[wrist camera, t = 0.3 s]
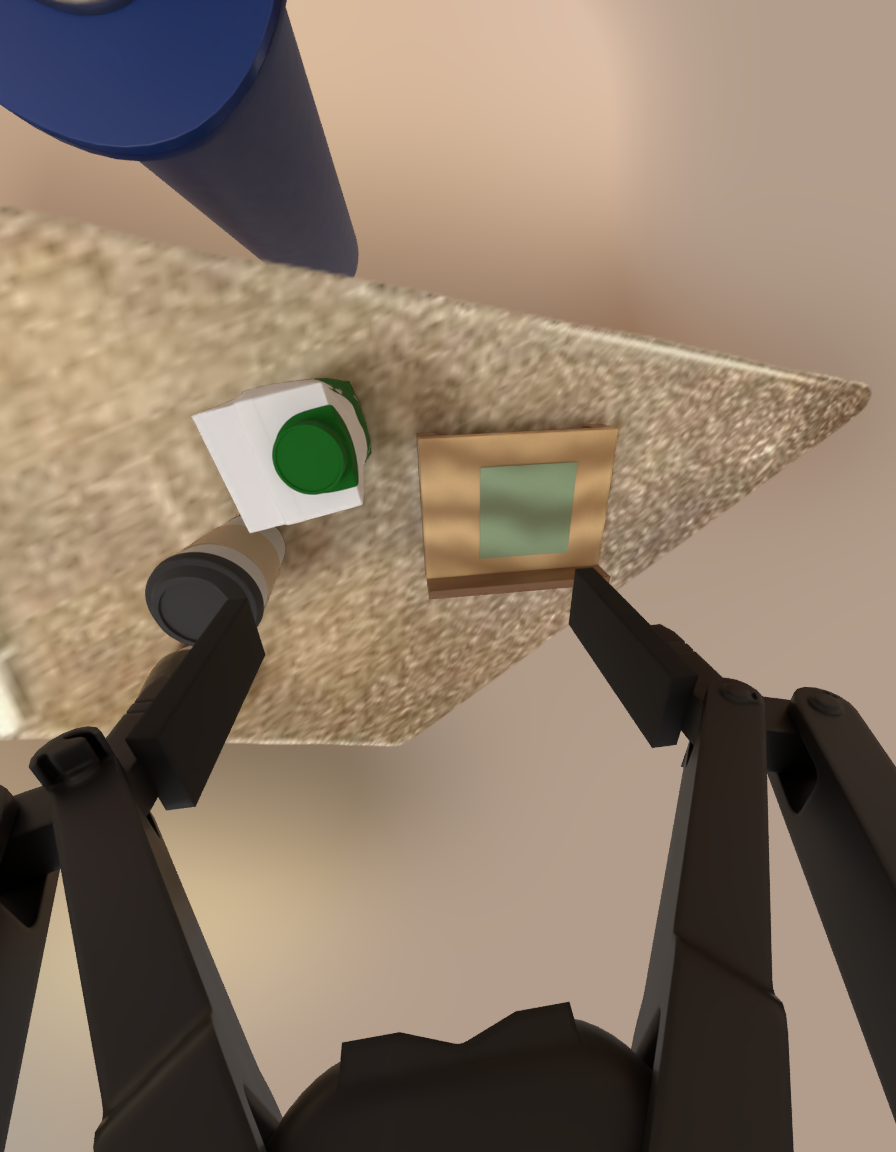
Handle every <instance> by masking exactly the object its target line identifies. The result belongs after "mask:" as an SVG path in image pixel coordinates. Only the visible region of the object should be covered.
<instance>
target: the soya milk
mask: <svg viewBox="0 0 896 1152" xmlns="http://www.w3.org/2000/svg"><path fill="white" fill-rule="evenodd" d="M192 418H193V420H194V422H195V424H196V426H197V428H198V430H199V432H200V434H201V436H202V438H203V440H204V442H205V444H206V446H207V448H208V450H209V452H210V454H211V456H212V458H213V460H214V462H215V464H216V466H217V468H218V470H219V472H220V474H221V476H222V478H223V480H224V482H225V485H226V487H227V489H228V491H229V493H230V495H231V497H232V499H233V501H234V503H235V505H236V507H237V509H238V511H239V513H240V515H241V517H242V519H243V521H244V523H245V525H246V527H247V529H248V531H249V533H253V532H257V531H261V530H265V529H269V528H273V527H277V526H280V525H284V524H286V525H292V524H296V523H300V522H303V521H306V520H309V519H313V518H316V517H320V516H324V515H327V514H331V513H335V512H338V511H342V510H346V509H349V508H353V507H357V506H360V505H362V504H363V466H364V463H365V462H366V460H367V459H368V457H369V456H370V454H371V442H370V436H369V433H368V429H367V426H366V422H365V419H364V416H363V413H362V410H361V407H360V404H359V402H358V399H357V397H356V395H355V393H354V391H353V389H352V386H351V384H350V382H349V381H342V380H335V379H329V378H316V379H306V380H297V381H291V382H284V383H276V384H270V385H265V386H260V387H256V388H252V389H249V390H246V391H244V392H242V393H241V394H240V395H239V396H238V397H237V398H235V399H233V400H231V401H228V402H226V403H224V404H221V405H219V406H216V407H213V408H210V409H208V410H205V411H202V412H200V413H197V414H195V415H192Z"/></svg>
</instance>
